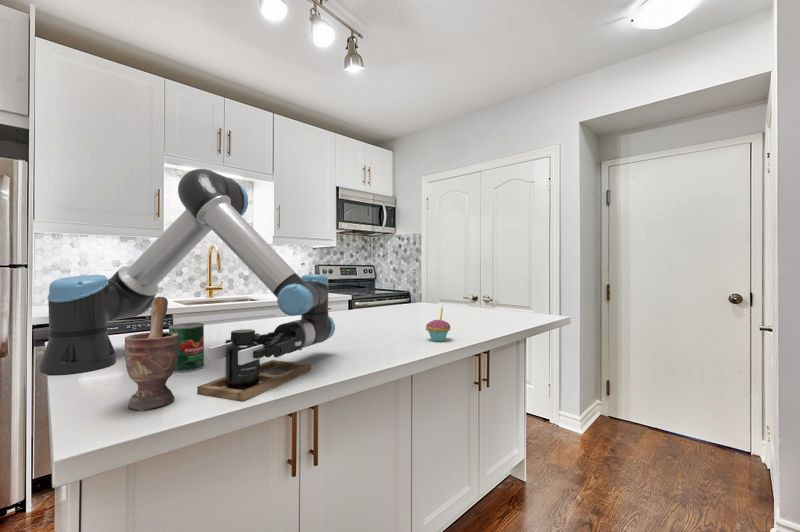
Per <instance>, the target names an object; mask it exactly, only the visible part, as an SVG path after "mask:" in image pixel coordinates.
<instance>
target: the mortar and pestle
mask: <svg viewBox="0 0 800 532" xmlns="http://www.w3.org/2000/svg"><path fill="white" fill-rule="evenodd" d="M168 305H169V302H168V299H167V297H164V296H155V298H154V299H153V301H152V305H151V308H150V329H149V332H143V333H136V334H131V335H128V336H127V335H126V336H125V337H124V351H125V352H124V360H125V361H124V362H125V369H126V371H127V375H128V377H129V378H130V380H131V381H133V382H134V383H135V384H136V385H137V391H136V392H135V393H134V394H132V395H131V397H130V398H129V400H128V408H129V409H132V410H135V411H140V412H143V411H147V410H151V409H155V408H159V407H163V406H166V405H169V404H171V403H173V402H174V401H175V395H174V394H173V392H172V391H171V389H170V388H169V387H168V386H167V385H166V384H167V382H168V379H170V377H172V376H173V374H174V373H175V372H174V370H175V366H176V363H177V358H178V337H179V336H178V334H177V333H172V332H169V331H163V330H164V329H163V327H164V323H165V318H166V315H167V312H168V311H167V310H168Z"/></svg>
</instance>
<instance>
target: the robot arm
mask: <svg viewBox="0 0 800 532" xmlns="http://www.w3.org/2000/svg"><path fill="white" fill-rule="evenodd" d="M177 193H178V194H177V195H178V197H179V201H180V203H181V205H183V206H184V208H185V210H184V211H183V212H182V213H181V214H180V215H179V216H178V217H177V218H176V219H175V220H174V221H173V222H172V223H171V224H170V226H168V227H167V229H165V230H164V231H163V232H162V234H161V235H159V236H158V238H157V239H156V240H155V241H153V243H151V245H150V246H149V247H148V248H147V249H145V251H144V252H143V253H142V254H141V255H140V256H139V257H138V258H137V259H136V260H135V261H134V262H133V263H132V264H131V265H130V266H129V265H124V266H121V267H120V268H119V269H118V270H117V271H116V272H115V273H114V274H113V275H112V276H111V277H110V278H107V276H106V275H103V274H88V275H78V276H77V275H76V276H69V277H61V278H58V279H55V280H53V281H52V282H50V284H49V287H48V288H49V289H48V295H47V301H48V303H47V305H48V342H47V344H46V347H45V348H44V349H45V350H44V351H43V354H42V356H41V359H40V360H39V361H40V362H39V373H41V374H44V375H67V374H68V375H69V374H76V373H77V374H78V373H83V372H84V373H85V372H91V371H94V370H99V369H103V368H106V367H109V366H112V365H114V364H116V362H117V354H116V350H115V348H114V346H113V344H112V342H111V339H110V337H109V334H108V332H109V331H108V324H109V323H108V322H109V321H110V322H111V321H114V320H115V321H116V320H121V319H127V318H128V319H129V318H135V317H137V316H140V315H142V314H145V313H146V312H148V311H149V310H151V305H152V301H153V299H154V298H156V297H157V296H156V295H157V293H158V292H159V284H160V283H161V282H162V281H163V280H164V279H165V278H166V277H167V276H168V275H169V273H171V272H172V271H173V269H175V268H176V266H178V264H180V263H181V262H182V260H183V259H184V258H185V257H186V256H188V255H189V253H190V252H191V251H192V250H193V249H194V248H195V247H196V246H197V245H198V244H200V242H201V241H202V240H204V238H205V237H206V236H207V235H209V233H210V232H211V231H213V232H214V234H215V235H216V236H217V237H218V238H219V239H220V240H221V241H222V242H223V243H224V244H225V245H226V246H227V247H228V248H229V249H230V250H231V252H233V253H234V255H235V256H236V257H238V259H239V260H240V261H241V262H242V263H243V264H244V265H245V266H246V267H247V268H248V269H249V270H250V272H252V273H253V274H254V275H255V276H256V277H257V279H259V281H260V282H261V283H262V284H263V285H264V286H265V287H266V288H267V289H268V290H269V291H270V292H271V293H272V295H274V296H275V298H277V299H276V301H277V305H278V306H277V307H278V308H279V309H280V311H281V312H282V313H283V314H285V315H287V316H290V317H295V316H300V318H299V319H297V320H296V319H295V320H293V321H292V320H291V321H289V322H284V323H281V324H279V325H278V326H276V327H275V329H274V331H272V332H268V333H264V334H260V333H256V332H255V339H254V342H256V343H258V346H254V347H251V348H248V349H244V350H241V351H238V365H243V364H246V363H249V362H252V361H255V360H258V359H260V360H261V359H264V357H265V358H270V357H272V356H273V357H274V358H279V357H281V356H284V355H286V354H291V353H294V352H297V351H299V352H300V351H303V349H305V348H307V347H310V346H313V345H318V344H320V343H324V342H325V341H327V340H328V339H331V337H332V336H333V335H334V333H335V332H336V331H335V330H336V324H335V322H334V319H333V318H332V317H331V316H330V315H329V288H330V286H329V277H328V276H327V274H303V275H302V276H301V277H300V276H299V274H297V272H296V271H295V270H294V269H293V268H292V267H291V266H290V265H289V264H288V263H287V261H285V260H284V258H283V257H282V256H280V254H278V253H277V252H276V250H275V249H273V247H272V246H271V245H270V244H269V243H268V242H267V241H266V240H265V239H264V238H263V237H262V236H261V235H260V234H259V232H257V230H255V228H253V226H251V225H250V223H249V222H248V221H247V220H246V219H245V218H244V217H243V215H245V213H246V212H247V209H248V208H249V207H248V206H249V196H248V193H247V190H246V189H245V188H244V186H243V185H241V184H240V183H239V182H237V181H236V180H235V179H233V178H231V177H227V176H225V175H222V174H220V173H217V172H215V171H213V170H210V169H206V168H196V169H192V170H189V171H188V172H186V173H185V174H184V175H183V176H182V177H181V179H180V181H179V183H178V186H177ZM231 343H232V341H231V339H226V340H225V343H222V344H219V345H215V346H211V347H207V362H213V361H217V360H220V359H223V358H226V347H227V346H228V345H229V344H231Z"/></svg>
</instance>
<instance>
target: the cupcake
mask: <svg viewBox="0 0 800 532" xmlns="http://www.w3.org/2000/svg"><path fill="white" fill-rule="evenodd" d="M443 309H444V305H441V308H440V313H439V314H440V315H439V319H434V320H431V321H429V322H428V323H427V324H426V325H425V330H426V331H427V332H428V334H429V337H430V340H431V341H432V342H437V341H440V342H445V341H446V338H447V335H448V333H449V331H451V324H449V322H447V321H445V320H443Z"/></svg>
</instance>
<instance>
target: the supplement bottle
mask: <svg viewBox="0 0 800 532" xmlns="http://www.w3.org/2000/svg"><path fill="white" fill-rule="evenodd" d="M255 334H256V330H255V329H249V328H247V329H235V330H231V331H230V340H231V341H232V343H231V344H229V345H228V346H227V347H226V357H225V368H224V369H225V371H224V373H225V375H224V377H225V386H226V388H231V389H237V390H245V389H247V388H250V387H252V386H255V385H257V384H259V380H260V364H261V361H260V360H261V359H258V360H255V361H252V362H249V363H246V364H243V365H238V351H241V350H244V349H248V348H251V347H254V346H258V343H256V342H254V339H255Z"/></svg>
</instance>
